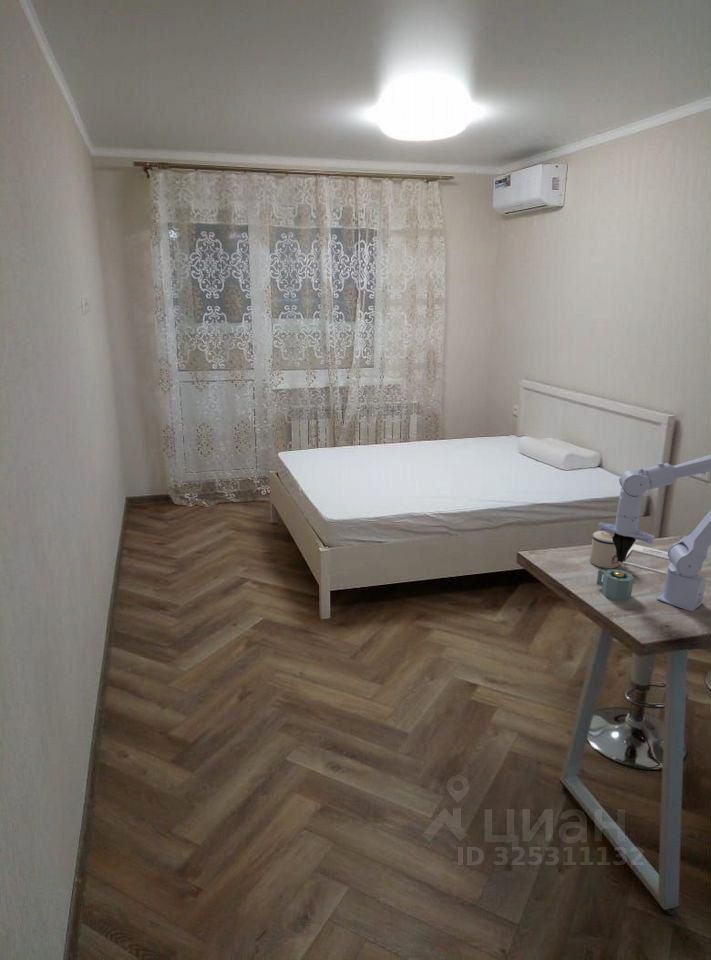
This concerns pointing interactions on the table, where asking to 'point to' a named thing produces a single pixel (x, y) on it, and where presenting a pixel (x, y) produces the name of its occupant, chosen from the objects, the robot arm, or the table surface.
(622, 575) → the plunger
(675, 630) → the table surface
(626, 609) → the table surface
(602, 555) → the teacup with lid
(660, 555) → the photo frame
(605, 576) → the tea press body
